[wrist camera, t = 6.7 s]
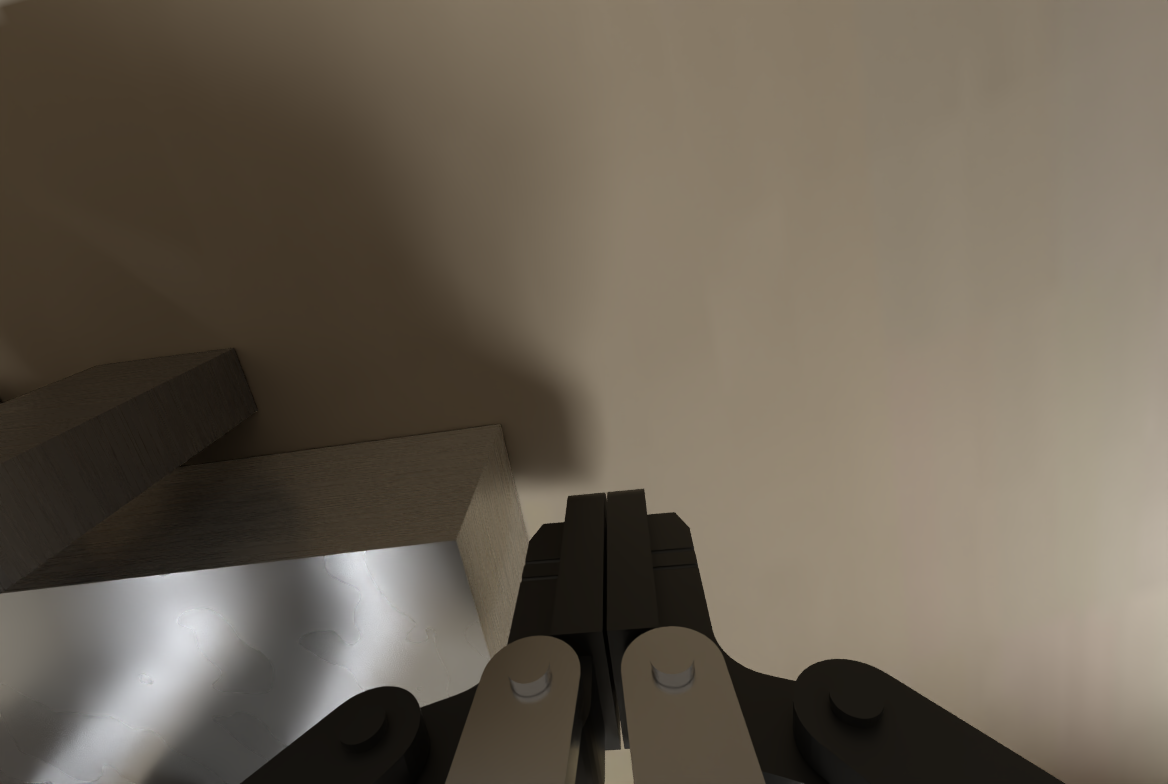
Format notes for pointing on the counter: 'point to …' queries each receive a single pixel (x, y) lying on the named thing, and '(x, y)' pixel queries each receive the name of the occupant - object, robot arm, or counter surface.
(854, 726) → the robot arm
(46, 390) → the collar
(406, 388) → the counter surface
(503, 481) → the pale grey rectangular bar
